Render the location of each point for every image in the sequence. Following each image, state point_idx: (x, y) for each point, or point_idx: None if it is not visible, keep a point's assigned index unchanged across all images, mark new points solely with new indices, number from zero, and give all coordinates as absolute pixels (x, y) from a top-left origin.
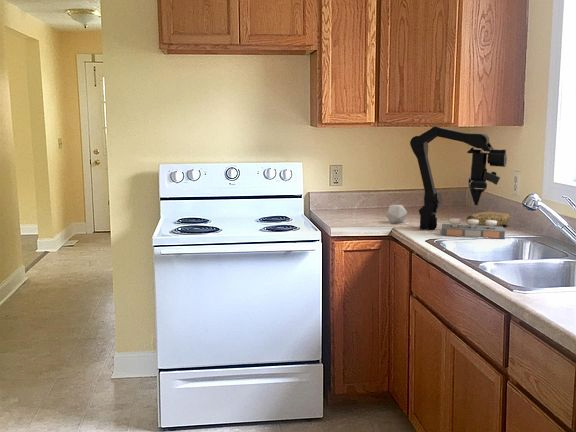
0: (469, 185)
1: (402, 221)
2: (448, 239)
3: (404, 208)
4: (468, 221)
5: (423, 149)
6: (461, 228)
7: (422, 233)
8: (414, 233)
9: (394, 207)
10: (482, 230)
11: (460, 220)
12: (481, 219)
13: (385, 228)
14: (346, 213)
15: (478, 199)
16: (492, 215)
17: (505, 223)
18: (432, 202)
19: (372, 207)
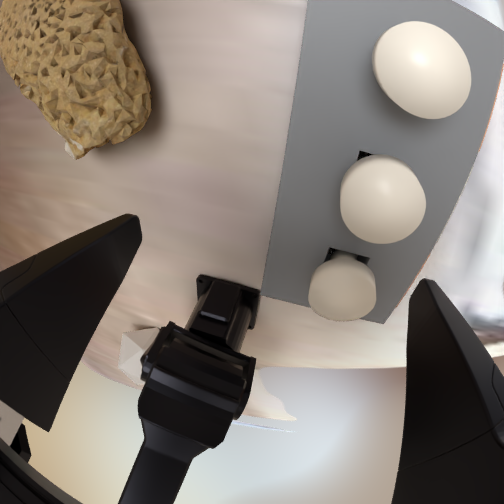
0: (47, 422)
1: None
2: (458, 293)
3: (128, 359)
4: (393, 236)
5: None
6: (407, 254)
7: (331, 335)
8: (331, 350)
9: None
10: (475, 157)
11: (361, 275)
12: (121, 83)
13: (253, 375)
14: (102, 359)
15: (470, 344)
16: (67, 27)
17: None
18: (240, 413)
19: None
